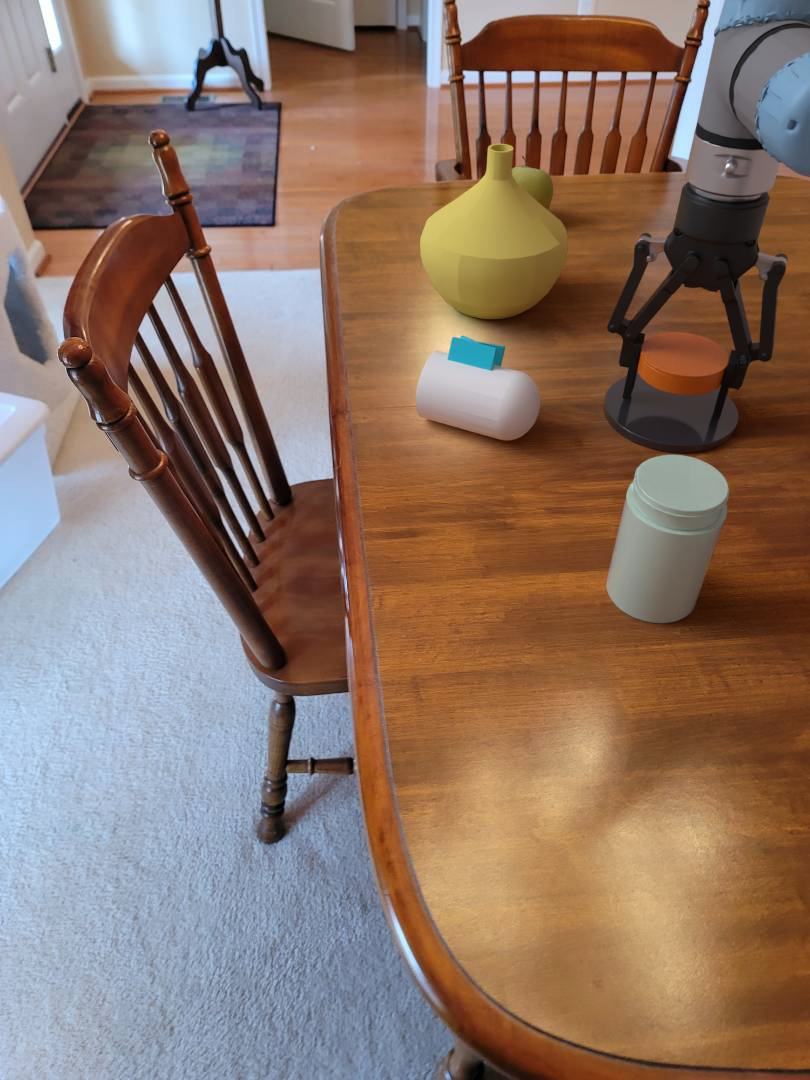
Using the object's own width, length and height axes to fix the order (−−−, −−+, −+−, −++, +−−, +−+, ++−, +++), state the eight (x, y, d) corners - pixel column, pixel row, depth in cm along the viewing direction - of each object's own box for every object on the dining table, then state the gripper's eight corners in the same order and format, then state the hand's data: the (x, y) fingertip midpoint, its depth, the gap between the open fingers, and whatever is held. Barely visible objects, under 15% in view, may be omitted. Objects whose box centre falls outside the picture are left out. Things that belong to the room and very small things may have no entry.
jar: (702, 572, 73) (739, 464, 65) (689, 634, 68) (727, 525, 60) (616, 549, 75) (641, 442, 67) (597, 607, 70) (621, 499, 62)
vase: (553, 270, 115) (571, 122, 102) (567, 337, 102) (591, 178, 89) (420, 269, 116) (422, 121, 103) (418, 336, 103) (419, 176, 89)
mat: (742, 394, 93) (745, 386, 92) (727, 466, 84) (730, 458, 83) (618, 368, 97) (619, 361, 96) (590, 435, 88) (591, 427, 87)
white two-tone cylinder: (540, 362, 79) (426, 334, 83) (519, 453, 83) (410, 422, 86) (570, 352, 89) (467, 327, 93) (550, 433, 93) (451, 406, 97)
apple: (522, 233, 122) (516, 159, 117) (493, 230, 128) (487, 159, 124) (566, 223, 125) (563, 150, 120) (536, 220, 131) (531, 151, 127)
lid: (648, 343, 91) (652, 325, 89) (730, 361, 88) (736, 342, 87) (627, 383, 85) (631, 364, 84) (714, 404, 82) (720, 384, 81)
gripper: (597, 184, 74) (565, 398, 90) (857, 220, 68) (774, 443, 84) (615, 157, 79) (581, 364, 95) (858, 188, 73) (780, 404, 89)
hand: (672, 401), depth 89 cm, fingers closed on lid, 9 cm apart
